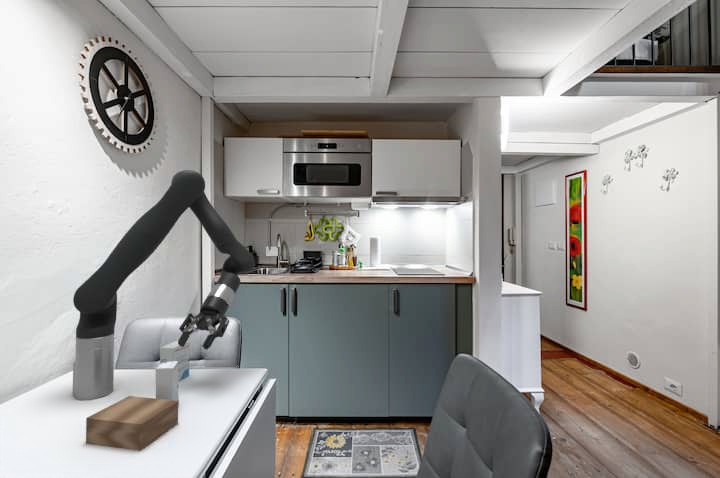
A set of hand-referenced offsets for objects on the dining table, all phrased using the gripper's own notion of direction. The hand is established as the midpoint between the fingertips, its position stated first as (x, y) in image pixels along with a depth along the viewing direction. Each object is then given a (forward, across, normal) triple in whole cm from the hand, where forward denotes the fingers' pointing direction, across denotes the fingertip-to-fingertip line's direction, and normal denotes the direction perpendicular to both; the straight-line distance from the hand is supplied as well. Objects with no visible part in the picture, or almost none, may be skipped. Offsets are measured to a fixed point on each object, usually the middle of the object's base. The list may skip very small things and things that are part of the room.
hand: (192, 346), depth 108 cm
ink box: (+4, -14, +16) cm, 22 cm away
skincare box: (+17, 0, +4) cm, 17 cm away
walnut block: (+25, +2, -5) cm, 26 cm away
